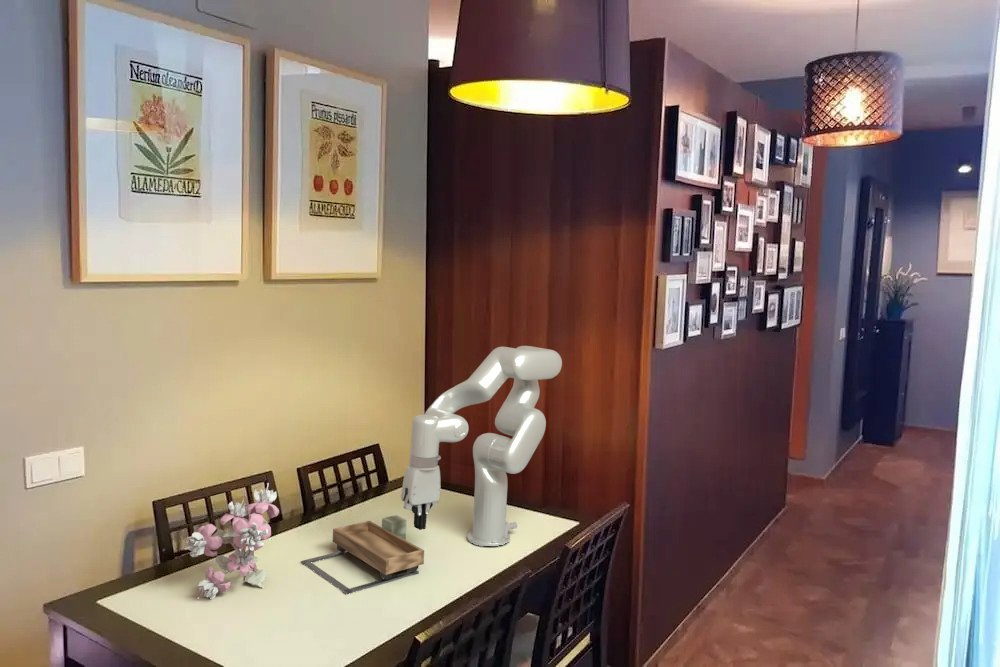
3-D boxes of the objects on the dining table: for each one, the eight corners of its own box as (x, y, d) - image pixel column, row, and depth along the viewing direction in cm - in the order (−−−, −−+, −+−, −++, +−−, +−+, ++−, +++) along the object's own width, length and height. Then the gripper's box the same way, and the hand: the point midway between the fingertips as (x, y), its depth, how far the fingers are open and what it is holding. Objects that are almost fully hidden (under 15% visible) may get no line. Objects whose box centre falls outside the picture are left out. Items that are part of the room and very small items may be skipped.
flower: (189, 562, 198) (177, 491, 185) (279, 545, 206) (275, 476, 193) (191, 627, 183) (179, 554, 169) (289, 606, 190) (285, 535, 177)
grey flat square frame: (370, 545, 219) (370, 543, 219) (418, 573, 202) (418, 571, 202) (300, 562, 205) (300, 560, 205) (345, 594, 187) (346, 592, 187)
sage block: (396, 538, 226) (396, 514, 225) (405, 543, 222) (406, 519, 221) (381, 541, 222) (382, 518, 222) (391, 547, 219) (391, 523, 218)
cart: (368, 541, 220) (369, 520, 220) (423, 572, 201) (424, 550, 200) (332, 549, 213) (332, 528, 212) (385, 583, 193) (386, 560, 192)
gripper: (437, 455, 215) (433, 519, 216) (392, 461, 205) (388, 528, 207) (454, 461, 209) (450, 527, 211) (408, 467, 199) (404, 537, 201)
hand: (419, 527), depth 209 cm, fingers closed
